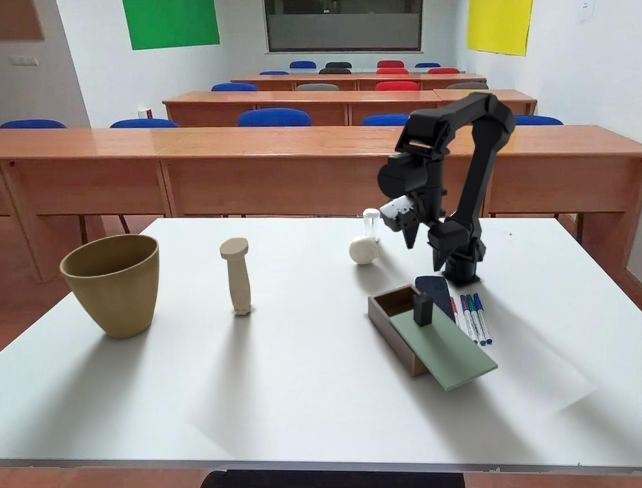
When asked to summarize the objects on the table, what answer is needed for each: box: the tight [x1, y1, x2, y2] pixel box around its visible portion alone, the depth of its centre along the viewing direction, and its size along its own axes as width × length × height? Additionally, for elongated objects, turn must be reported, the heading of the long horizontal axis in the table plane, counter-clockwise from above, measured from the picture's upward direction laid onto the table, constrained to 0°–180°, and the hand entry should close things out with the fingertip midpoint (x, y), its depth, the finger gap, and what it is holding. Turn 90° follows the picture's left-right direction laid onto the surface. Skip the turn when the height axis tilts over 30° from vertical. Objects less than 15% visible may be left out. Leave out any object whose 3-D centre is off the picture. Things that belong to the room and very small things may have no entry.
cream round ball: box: [348, 235, 379, 265], centre depth 96 cm, size 7×7×7 cm
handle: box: [219, 237, 252, 316], centre depth 77 cm, size 5×6×15 cm
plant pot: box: [59, 233, 160, 340], centre depth 73 cm, size 15×15×16 cm
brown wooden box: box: [367, 283, 430, 377], centre depth 72 cm, size 10×17×4 cm, turn 27°
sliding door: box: [389, 291, 499, 392], centre depth 64 cm, size 10×17×6 cm, turn 27°
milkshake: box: [362, 208, 381, 244], centre depth 106 cm, size 5×5×10 cm
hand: (422, 259), depth 75 cm, fingers open, 9 cm apart
